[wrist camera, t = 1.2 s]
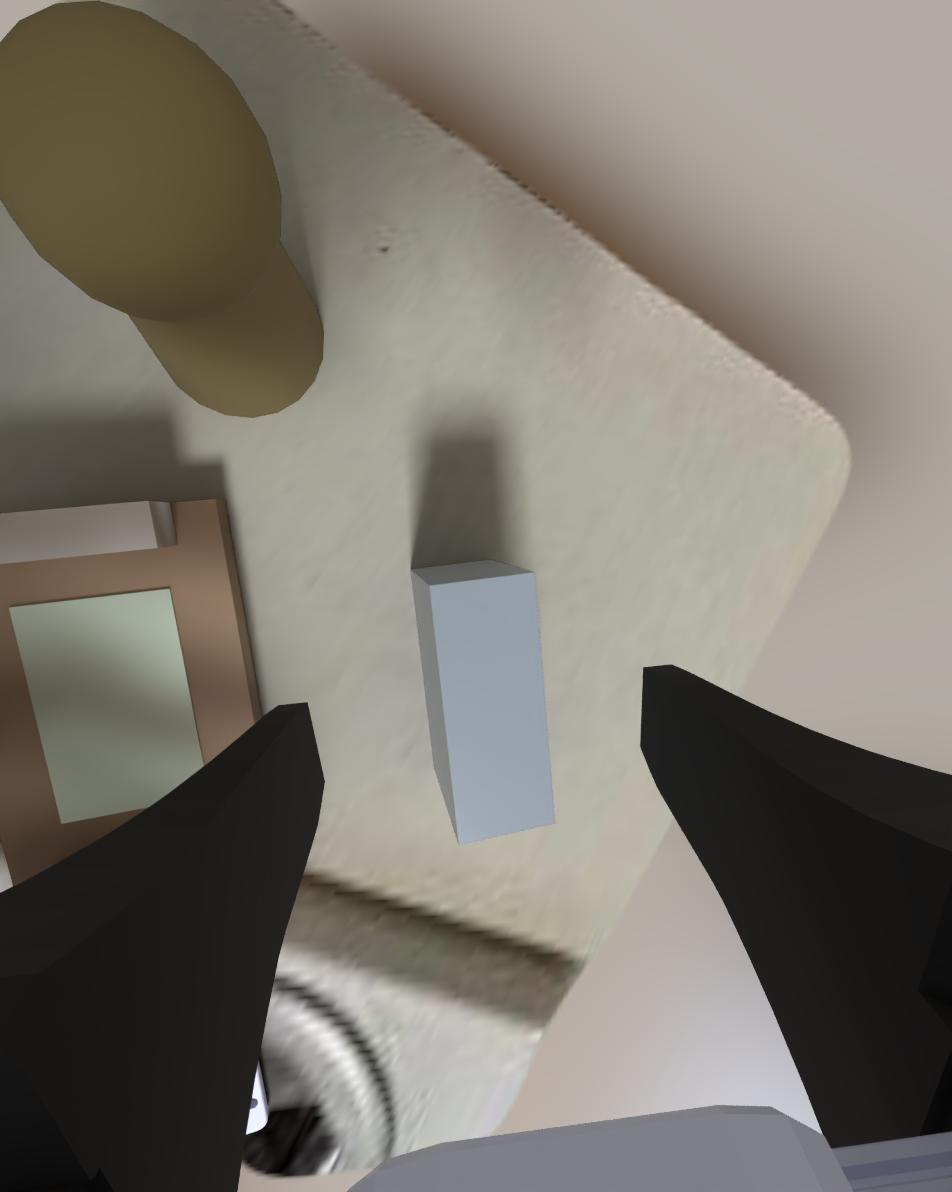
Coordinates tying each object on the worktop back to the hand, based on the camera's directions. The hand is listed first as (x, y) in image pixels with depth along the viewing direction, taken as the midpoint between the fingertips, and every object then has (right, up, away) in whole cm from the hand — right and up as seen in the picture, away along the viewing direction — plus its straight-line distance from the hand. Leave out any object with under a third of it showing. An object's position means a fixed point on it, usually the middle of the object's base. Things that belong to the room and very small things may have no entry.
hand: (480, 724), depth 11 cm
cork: (-9, +13, +9) cm, 18 cm away
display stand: (-13, -1, +9) cm, 16 cm away
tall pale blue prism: (-1, 0, +12) cm, 12 cm away
